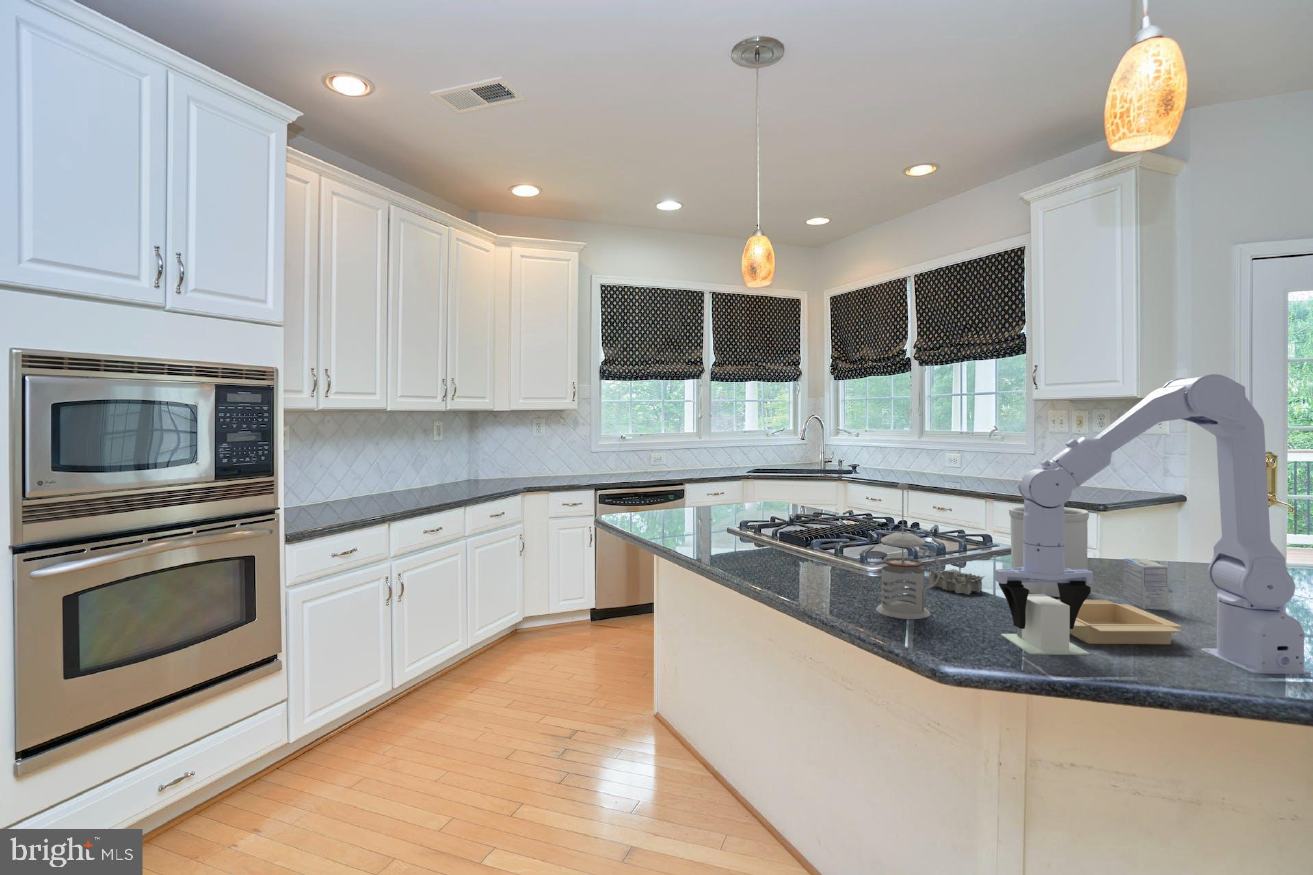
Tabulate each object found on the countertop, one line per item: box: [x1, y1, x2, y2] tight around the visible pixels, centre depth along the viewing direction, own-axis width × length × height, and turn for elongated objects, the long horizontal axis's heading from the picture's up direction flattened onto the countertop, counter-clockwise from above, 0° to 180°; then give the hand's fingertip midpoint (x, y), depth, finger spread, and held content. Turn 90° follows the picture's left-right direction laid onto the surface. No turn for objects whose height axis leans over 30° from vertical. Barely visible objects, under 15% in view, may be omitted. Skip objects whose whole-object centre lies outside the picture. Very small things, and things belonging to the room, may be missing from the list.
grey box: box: [1016, 593, 1071, 650], centre depth 103 cm, size 7×4×7 cm, turn 178°
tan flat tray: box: [1057, 599, 1184, 645], centre depth 110 cm, size 18×17×3 cm
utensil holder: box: [1008, 505, 1090, 598], centre depth 138 cm, size 15×15×18 cm
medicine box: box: [1121, 557, 1169, 611], centre depth 126 cm, size 8×4×9 cm, turn 168°
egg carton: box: [925, 567, 986, 595], centre depth 141 cm, size 11×8×4 cm
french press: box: [875, 482, 942, 620], centre depth 123 cm, size 10×12×25 cm
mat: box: [1000, 633, 1090, 656], centre depth 103 cm, size 9×9×1 cm
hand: (1043, 626), depth 103 cm, fingers open, 7 cm apart
